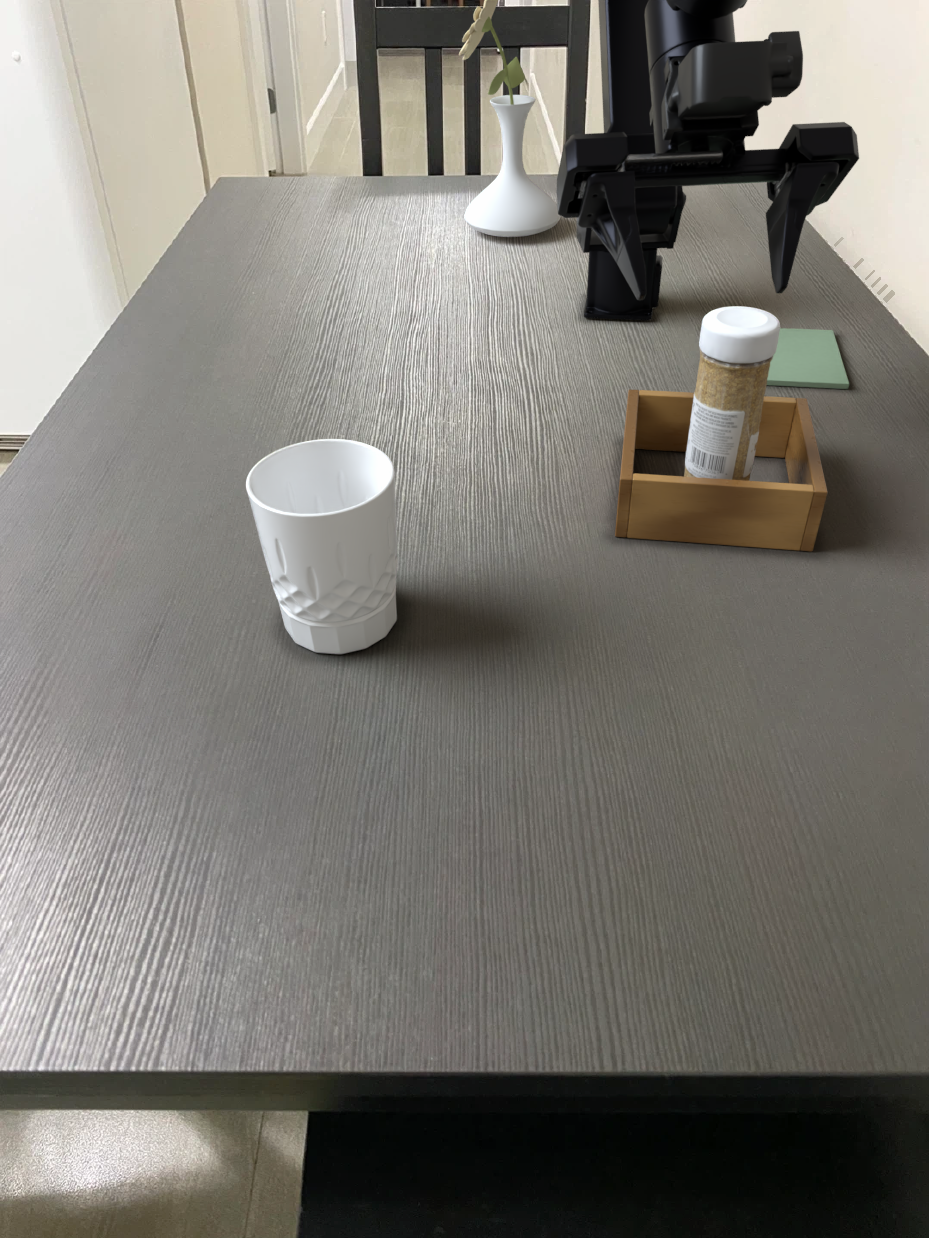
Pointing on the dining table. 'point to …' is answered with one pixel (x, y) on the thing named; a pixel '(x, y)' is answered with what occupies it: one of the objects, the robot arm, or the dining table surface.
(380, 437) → the dining table surface
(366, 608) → the white cup
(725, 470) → the sprinkles bottle
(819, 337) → the mat
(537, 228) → the flower in vase
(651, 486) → the wooden box
